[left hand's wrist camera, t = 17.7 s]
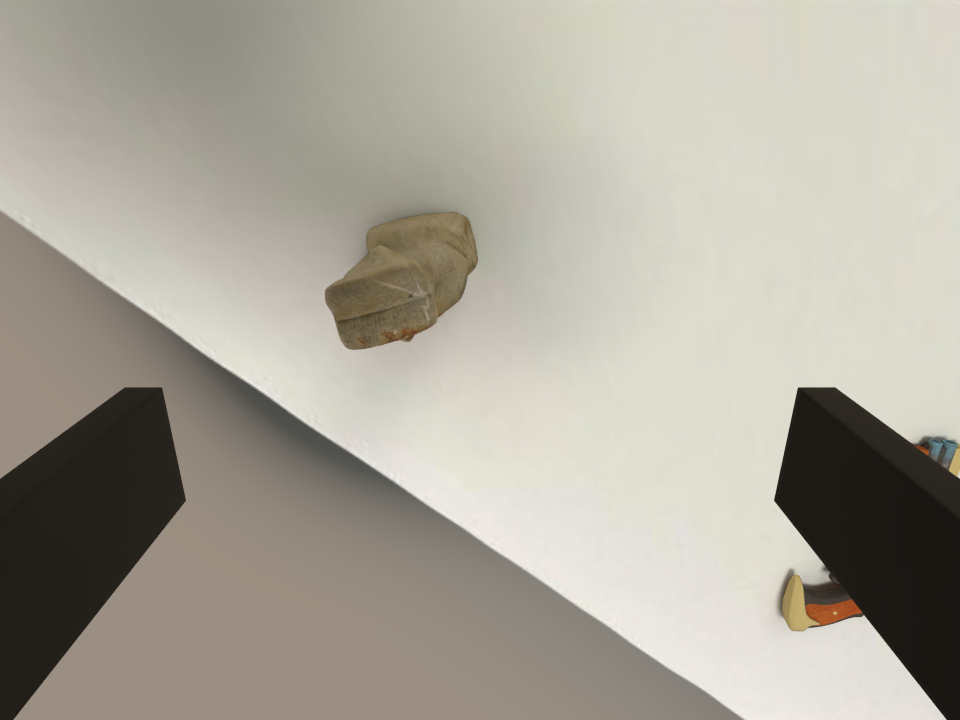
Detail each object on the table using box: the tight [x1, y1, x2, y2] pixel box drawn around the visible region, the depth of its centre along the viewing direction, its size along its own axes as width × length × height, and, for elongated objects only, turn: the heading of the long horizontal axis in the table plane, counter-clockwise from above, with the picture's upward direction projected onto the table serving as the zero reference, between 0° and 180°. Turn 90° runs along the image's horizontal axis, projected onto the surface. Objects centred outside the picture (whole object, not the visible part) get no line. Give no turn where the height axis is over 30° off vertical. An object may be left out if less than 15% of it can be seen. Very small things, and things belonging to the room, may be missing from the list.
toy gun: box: [782, 439, 960, 631], centre depth 49 cm, size 3×19×10 cm
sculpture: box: [325, 212, 478, 350], centre depth 34 cm, size 6×7×15 cm
